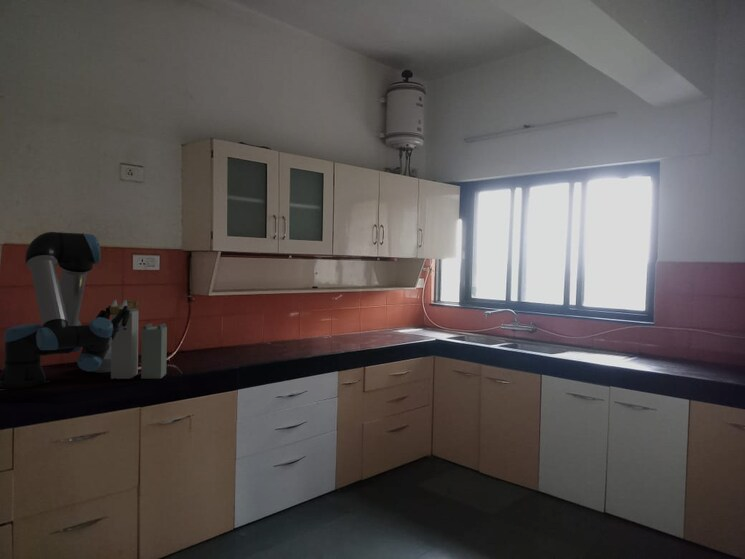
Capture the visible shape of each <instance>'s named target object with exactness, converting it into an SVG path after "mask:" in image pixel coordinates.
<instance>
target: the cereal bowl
mask: <svg viewBox="0 0 745 559" xmlns="http://www.w3.org/2000/svg"><path fill="white" fill-rule="evenodd" d="M93 372H94V373H97V374H104V373H111V353H106V355H105V357H104V359H103V361H102V364H101V365H100V367H99V368H98V369H97V370H95V371H93Z"/></svg>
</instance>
